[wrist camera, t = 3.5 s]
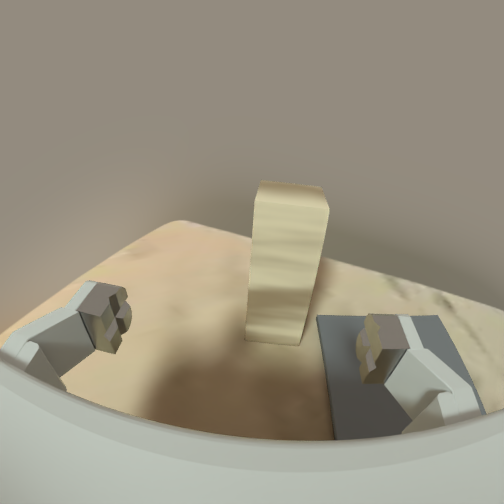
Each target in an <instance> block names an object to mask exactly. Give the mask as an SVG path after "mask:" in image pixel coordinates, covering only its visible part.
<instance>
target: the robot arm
mask: <svg viewBox="0 0 504 504" xmlns="http://www.w3.org/2000/svg"><path fill="white" fill-rule="evenodd" d="M127 297H128V296H127V292H126V289H125V288H123V287H120V286H115V285H110V284H106V283H101V282H95V281H90V280H89V281H86V282H85V283H84V284H83V285H82V286H81V288H80V289H79V290H78V291H77V293H76V294H75V295H74V296H73V298H72V299H71V300H70V301H69V303H68V304H67V305H66V306H65V308H62V307H61V308H59V309H57V310H55V311H53V312H51V313H49V314H47V315H45V316H43V317H41V318H39V319H37V320H35V321H33V322H31V323H29V324H27V325H25V326H23V327H21V328H19V329H18V330H16V331H14V332H13V333H12V334H11V335H10V337H9V338H8V339H7V341H6V342H5V343H4V345H3V346H2V348H1V349H0V504H504V408H503V409H500V410H498V411H495V412H492V413H489V414H486V415H483V416H482V415H481V412H480V409H479V406H478V403H477V400H476V398H475V395H474V392H473V390H472V387H471V386H470V385H469V384H468V383H467V382H465V381H464V380H463V379H462V378H461V377H460V376H459V375H458V374H456V373H455V372H454V371H453V370H452V369H451V368H449V367H448V366H447V365H446V364H445V363H444V362H443V361H441V360H440V359H439V358H438V357H437V356H436V355H434V354H433V353H432V352H431V351H430V350H428V349H424V347H423V345H422V343H421V340H420V338H419V335H418V333H417V331H416V328H415V326H414V324H413V322H412V319H411V317H410V316H409V315H408V314H395V315H394V314H368V315H367V316H366V318H365V320H364V325H365V328H364V329H362V330H361V331H360V332H359V334H358V337H357V341H356V355H357V358H358V359H359V360H360V361H361V362H362V364H361V365H360V367H359V371H360V376H361V381H362V384H384V385H385V387H386V388H387V389H388V390H389V392H390V393H391V394H392V395H393V397H394V398H395V399H396V400H397V402H398V403H399V404H400V405H401V407H402V408H403V409H404V410H405V412H406V413H407V414H408V416H409V417H410V418H411V419H412V422H411V423H410V424H409V425H408V426H407V427H406V428H405V429H404V430H403V431H402V434H399V435H392V436H384V437H376V438H365V439H352V440H331V441H294V440H272V439H258V438H248V437H238V436H230V435H223V434H216V433H210V432H204V431H198V430H192V429H187V428H182V427H177V426H173V425H168V424H164V423H160V422H156V421H152V420H148V419H144V418H141V417H137V416H134V415H130V414H127V413H124V412H120V411H117V410H114V409H111V408H108V407H105V406H102V405H99V404H97V403H94V402H91V401H88V400H86V399H83V398H81V397H78V396H76V395H73V394H71V393H68V392H66V391H67V389H66V386H65V385H64V383H63V382H62V380H61V379H60V377H61V376H62V375H64V374H65V373H66V372H68V371H69V370H70V369H72V368H73V367H74V366H76V365H77V364H78V363H80V362H81V361H82V360H84V359H85V358H86V357H88V356H89V355H90V354H91V353H93V352H94V351H95V349H96V350H100V351H104V352H108V353H112V354H116V352H117V350H118V348H119V346H120V344H121V342H122V337H121V335H122V334H124V333H126V332H127V331H128V329H129V327H130V324H131V319H132V311H131V307H130V305H129V304H128V303H127V302H126V301H125V300H126V298H127Z"/></svg>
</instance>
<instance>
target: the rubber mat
mask: <svg viewBox="0 0 504 504" xmlns="http://www.w3.org/2000/svg"><path fill="white" fill-rule="evenodd" d="M410 317H411V319H412V322H413V324H414V326H415V328H416V331H417V333H418V335H419V338H420V340H421V343H422V345H423V347H424V349H428V350H430V351H431V352H432V353H433V354H434V355H436V356H437V357H438V358H439V359H440V360H441V361H443V362H444V363H445V364H446V365H447V366H448V367H449V368H451V369H452V370H453V371H454V372H455V373H456V374H458V375H459V376H460V377H461V378H462V379H463V380H464V381H465V382H467V383H468V384H469V385H470V386H471V387H472V390H473V392H474V395H475V398H476V400H477V403H478V406H479V409H480V412H481V415H482V416H483V415H486V412H485V409H484V407H483V404H482V402H481V400H480V397H479V395H478V393H477V390H476V388H475V386H474V384H473V382H472V379H471V377H470V375H469V373H468V371H467V369H466V367H465V365H464V363H463V361H462V359H461V357H460V355H459V353H458V351H457V349H456V347H455V345H454V343H453V342H452V340H451V338H450V336H449V334H448V332H447V331H446V329H445V327H444V325H443V324H442V322H441V320H440V318H439V317H438V315H430V316H410ZM365 318H366V316H335V315H317V317H316V321H317V327H318V332H319V338H320V343H321V349H322V355H323V361H324V367H325V373H326V380H327V386H328V393H329V400H330V407H331V414H332V421H333V429H334V437H335V440H352V439H365V438H376V437H384V436H392V435H399V434H402V431H403V430H404V429H405V428H406V427H407V426H408V425H409V424H410V423H411V422H412V419H411V418H410V417H409V416H408V414H407V413H406V412H405V410H404V409H403V408H402V407H401V405H400V404H399V403H398V402H397V400H396V399H395V398H394V397H393V395H392V394H391V393H390V392H389V390H388V389H387V388H386V387H385V385H384V384H362V381H361V376H360V371H359V367H360V365H361V364H362V362H361V361H360V360H359V359H358V358H357V355H356V341H357V337H358V334H359V332H360V331H361V330H362V329H364V328H365V325H364V320H365Z"/></svg>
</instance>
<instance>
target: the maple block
mask: <svg viewBox="0 0 504 504" xmlns="http://www.w3.org/2000/svg"><path fill="white" fill-rule="evenodd" d="M329 211H330V209H329V206H328V203H327V201H326V198H325V196H324V193H323V190H322V188H321V187H316V186H308V185H300V184H292V183H282V182H274V181H264V180H261V182H260V185H259V188H258V192H257V195H256V199H255V207H254V219H253V234H252V247H251V261H250V275H249V288H248V302H247V316H246V330H245V340H246V341H255V342H263V343H272V344H282V345H293V346H299V343H300V340H301V336H302V332H303V328H304V324H305V320H306V317H307V313H308V309H309V304H310V300H311V296H312V292H313V288H314V283H315V279H316V275H317V270H318V266H319V261H320V256H321V251H322V247H323V242H324V237H325V232H326V227H327V222H328V216H329Z"/></svg>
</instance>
